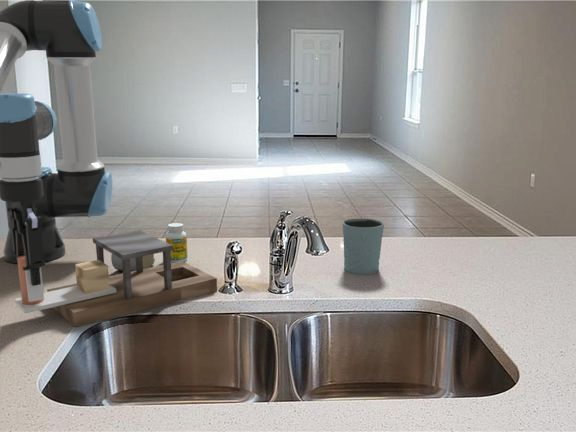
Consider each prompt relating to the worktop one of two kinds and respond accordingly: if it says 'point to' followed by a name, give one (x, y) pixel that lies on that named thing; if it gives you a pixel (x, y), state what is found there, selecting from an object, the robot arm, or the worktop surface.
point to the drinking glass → (362, 245)
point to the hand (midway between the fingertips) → (32, 296)
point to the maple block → (92, 276)
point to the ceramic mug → (133, 262)
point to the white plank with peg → (52, 294)
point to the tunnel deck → (138, 280)
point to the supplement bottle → (177, 242)
